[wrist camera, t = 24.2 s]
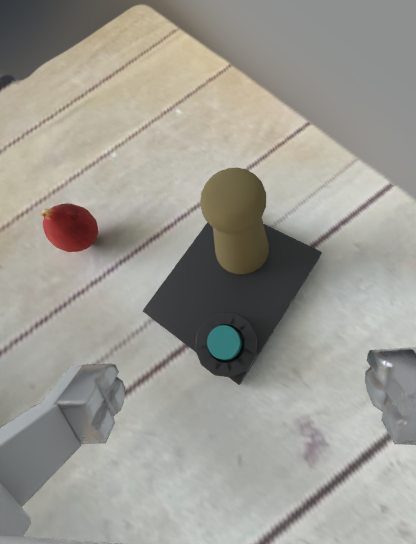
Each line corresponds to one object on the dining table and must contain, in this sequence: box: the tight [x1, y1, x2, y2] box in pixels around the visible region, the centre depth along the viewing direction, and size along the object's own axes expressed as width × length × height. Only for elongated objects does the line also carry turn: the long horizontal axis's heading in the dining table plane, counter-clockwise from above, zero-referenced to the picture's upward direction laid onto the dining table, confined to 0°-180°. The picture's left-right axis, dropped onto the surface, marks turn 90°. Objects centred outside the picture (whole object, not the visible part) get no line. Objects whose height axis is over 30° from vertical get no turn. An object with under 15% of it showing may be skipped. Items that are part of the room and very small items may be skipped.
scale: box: [143, 223, 322, 385], centre depth 28 cm, size 16×13×3 cm
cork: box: [201, 168, 269, 274], centre depth 24 cm, size 6×6×11 cm
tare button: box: [207, 325, 242, 360], centre depth 24 cm, size 3×3×2 cm
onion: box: [41, 204, 98, 252], centre depth 32 cm, size 6×6×8 cm
